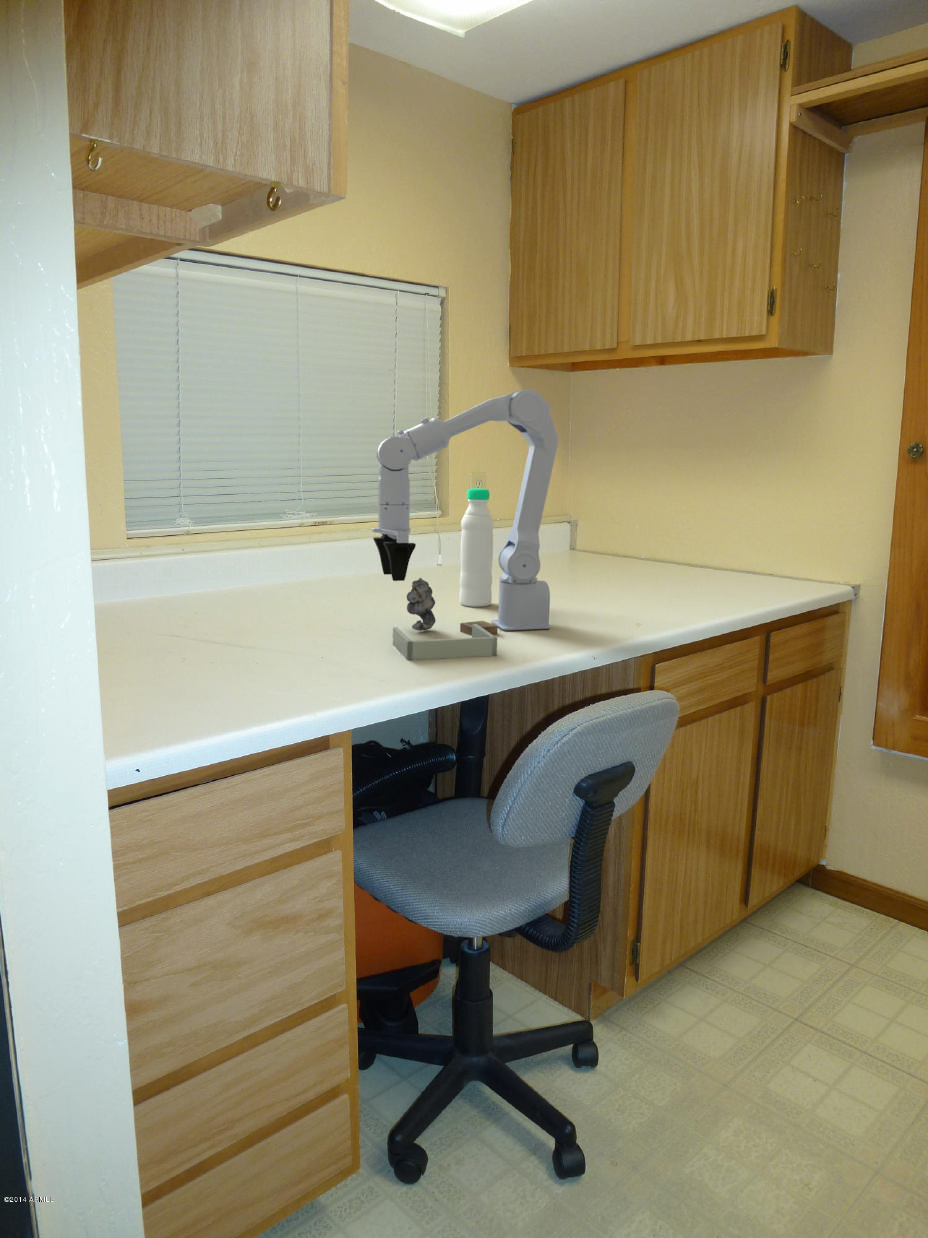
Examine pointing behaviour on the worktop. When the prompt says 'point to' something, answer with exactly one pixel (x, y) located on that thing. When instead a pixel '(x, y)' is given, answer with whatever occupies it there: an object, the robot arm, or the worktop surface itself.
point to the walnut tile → (487, 626)
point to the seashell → (421, 604)
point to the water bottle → (476, 551)
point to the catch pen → (447, 645)
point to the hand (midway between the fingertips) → (393, 577)
